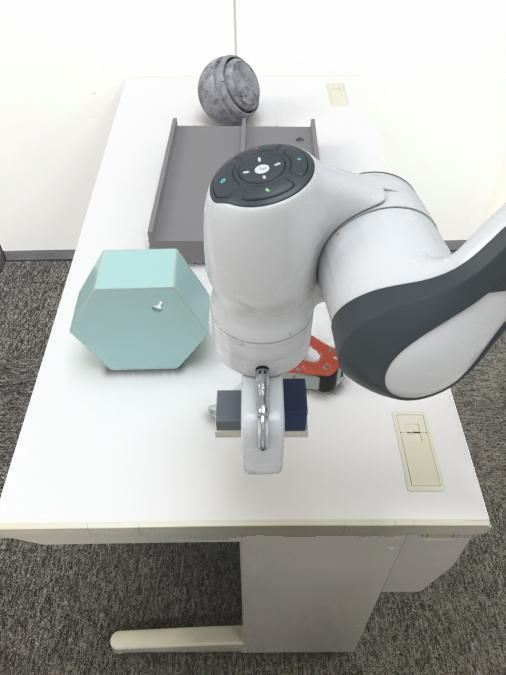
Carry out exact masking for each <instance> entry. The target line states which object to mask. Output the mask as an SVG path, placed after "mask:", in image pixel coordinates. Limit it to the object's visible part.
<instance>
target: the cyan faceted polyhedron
mask: <svg viewBox="0 0 506 675" xmlns="http://www.w3.org/2000/svg"><path fill="white" fill-rule="evenodd" d="M210 297H211V294H210V293H209V292H208V290H207V289H206V287H205V286H204V285H203V283H202V282H201V280H200V278H198V276H197V275H196V274H195V272H194V271H193V269H192V268H191V266H190V265H189V263H187V262H186V261H185V259H184V258H183V256H182V255H181V254H180V252H179V251H178V249H150V248H139V249H138V248H137V249H136V248H135V249H134V248H133V249H103V250H102V252H101V253H100V254H99V256H98V258H97V260H96V262H95V263H94V265H93V267H92V268H91V271H90V272H89V274H88V276H87V278H86V279H85V281H84V283H83V284H82V286H81V288H80V289H79V291H78V294H77V298H76V302H75V307H74V310H73V314H72V317H71V318H72V319H71V323H70V326H69V333H70V334H71V335H72V336H73V337H75V338H76V339H77V340H78V341H79V342H80V343H81V344H82V345H83V346H84V347H85V348H86V349H87V350H88V351H89V352H90V353H92V355H94V356H95V357H96V358H97V359H98V360H99V361H100V362H102V363H103V365H105V366H106V367H107V368H108V370H111V371H140V370H141V371H143V370H145V371H146V370H169V369H170V370H176V369H179V368H180V366H181V365H183V363H184V362H185V361H186V360H187V359H188V358H189V357H190V355H191V354H192V353H193V352H194V351H195V350H196V349H197V348H198V346H199V345H200V344H201V343H202V342H203V341H204V340H205V338H207V337H208V335H209V334H210ZM160 303H161V304H160ZM159 304H160V308H158V305H159Z"/></svg>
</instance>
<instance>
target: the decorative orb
mask: <svg viewBox="0 0 506 675" xmlns="http://www.w3.org/2000/svg"><path fill="white" fill-rule="evenodd" d="M260 95H261V88H260V83H259V80H258V77H257V74H256V72H255V70H254V69H253V67H251V65H250V64H249V63H247V62H246V61H245V60H244V59H243V58H242V57H240V56H238V55H234V54H227V55H222V56H219V57H216V58H214V59H212V60H211V61H210V62H209V63H207V65H206V66H205V67H204V68H203V70H202V72H201V74H200V76H199V79H198V83H197V96H198V100H199V104H200V107H201V108H202V110H203V111H204V113H205V114H206V115H207V117H209V119H211V120H213V121H214V122H215V123H218V124H221V125H222V126H237V125H240V124H242V118H246V121H247V120H248V119H250V118H251V117H253V116H254V115H255V113H256V112H257V110H258V108H259V105H260V98H261V97H260Z"/></svg>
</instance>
